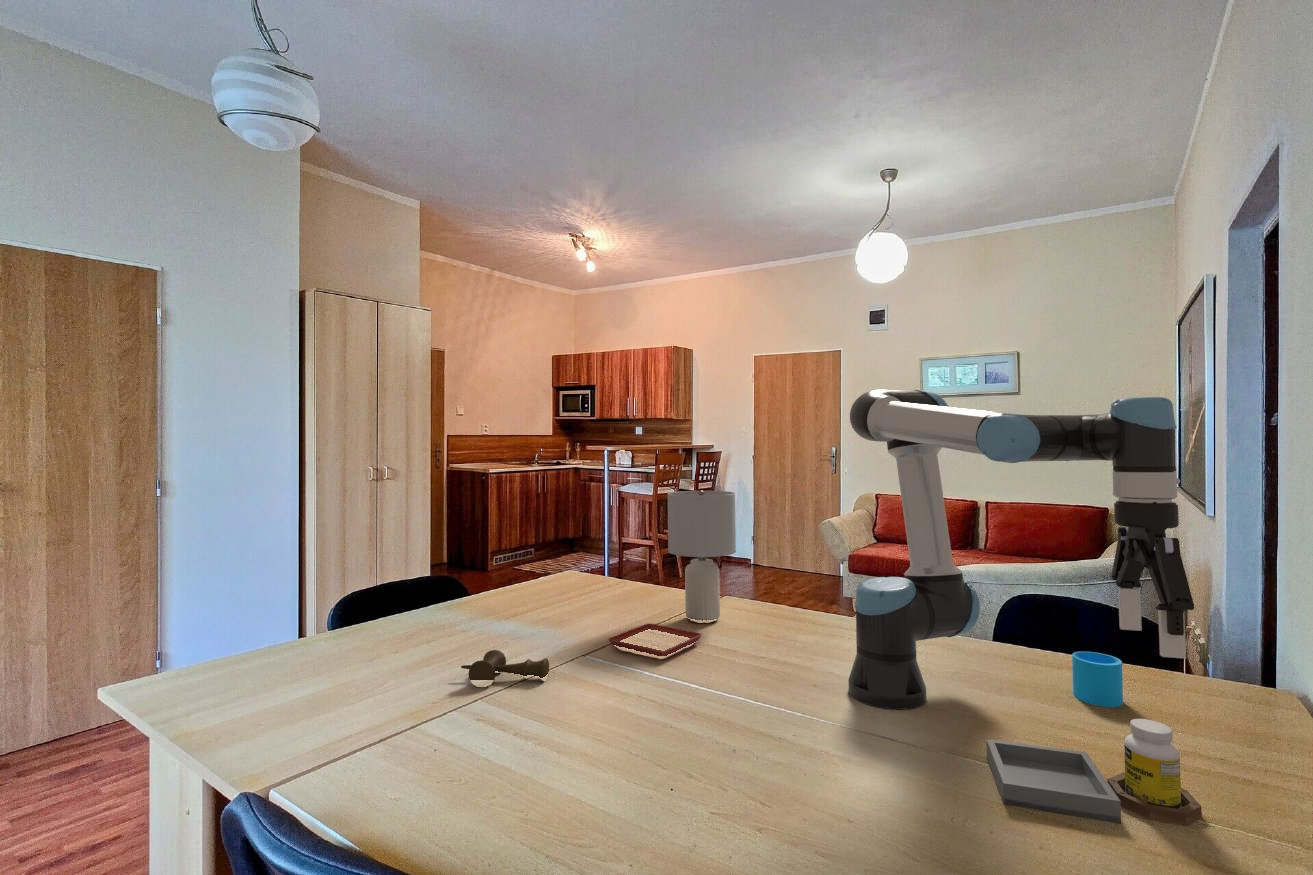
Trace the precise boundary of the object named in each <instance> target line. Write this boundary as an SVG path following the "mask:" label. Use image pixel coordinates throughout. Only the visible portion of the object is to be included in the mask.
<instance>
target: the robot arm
mask: <svg viewBox="0 0 1313 875" xmlns="http://www.w3.org/2000/svg"><path fill="white" fill-rule="evenodd" d="M849 422H850V425H851V428H852V429H853V430H854V432H855V433H856V434H857V435H858V436H859V437H861V438H863V439H865V440H867V441H871V442H883V443H884V442H886V448H887V453H889V454H890V455H891V456H892V457H894V458H895V460H896V468H897V476H898V481H899V482H898V483H899V489H900V490H899V491H900V498H901V504H902V510H903V511H902V512H903V519H904V520H903V521H904V526H905V527H904V528H905V536H906V543H907V550H908V558H909V567H908V569H907V570H906V571H904V574H903V575H904V577H900V576H887V577H885V576H880V577H873V578H870V579H866V580H864V581H862V582H861V583H859V584H858V586H857V587H856V592H855V601H854V609H855V631H856V632H855V635H856V636H855V637H856V655H855V657H854V661H853V664H852V667H851V671H850V672H849V677H848V693H849V694H850V695H851V696H852V697H853V698H854V699H856V700H857V701H859V702H862V703H864V704H867V705H870V706H874V707H877V708H883V709H891V710H908V709H909V710H911V709H915V708H919V707H921V706H923V705H924V704H926V703H927V698H928V697H927V687H926V684H925V681H924V678H923V675H922V672H921V669H920V666H919V663H918V661H917V660H918V659H917V641H923V640H924V641H925V640H931V639H937V638H953V637H955V636H958V635H963V634H965V633H967V632H969V631H971V630H972V629H973V627H974V626H975V625H976V624H977V622H978V621H979V618H980V613H981V603H980V599H979V596H978V593H977V591H976V590H975V589H973V585H972V584H971V583H969V581H967V580H964V575H963V571H962V569H960V568H959V567H957V566H956V565H955V563H954V561H953V554H952V547H951V540H950V533H949V526H948V520H947V512H946V505H945V500H944V499H945V498H944V493H943V485H942V478H941V471H940V465H939V458H938V454H939V452H940V451H941V450H942V449H943V448H944V449H950V450H955V451H962V452H967V453H971V454H976V455H977V454H978V455H983V456H985V457H986V458H987V459H988V460H991V461H993V462H1000V463H1006V464H1007V463H1009V464H1017V463H1023V462H1064V461H1065V462H1071V461H1075V462H1076V461H1105V462H1106V461H1112V492H1113V493H1112V494H1113V495H1112V496H1113V497H1114V498H1118V499H1117V500H1116V501H1115V502H1114V503H1113V506H1114V507H1113V509H1114V511H1113V512H1114V514H1113V515H1114V523H1115V524H1116V525H1118V526H1119V527H1118V528H1117V543H1116V549H1115V554H1114V559H1113V564H1112V571H1111V577H1110V578H1111V579H1112V581H1115V584H1116V587H1118V588H1117V590H1118V593H1117V595H1118V597H1117V598H1118V617H1119V618H1118V620H1119V621H1118V622H1119V630H1121V631H1122V630H1124V631H1138V632H1139V631H1142V630H1143V629H1142V610H1141V609H1142V605H1141V604H1142V602H1141V601H1142V600H1141V589H1142V588H1143V586H1142V583H1141V582H1140V579H1141V577H1142V575H1143V572H1144V569H1147V570H1148V572H1149V575H1150V578H1151V581H1152V583H1153V586H1154V589H1155V591H1156V595H1157V597H1158V600H1159V602H1160V603H1158V604H1157V606H1156V607H1155V609H1156V610H1157V612H1158V615H1157V616H1158V638H1159V641H1158V642H1159V656H1161V657H1163V658H1173V659H1175V658H1176V659H1187V648H1186V641H1187V640H1186V622H1185V621H1186V619H1185V618H1186V616H1185V612H1187V611H1194V610H1195V604H1194V599H1193V596H1192V595H1193V594H1192V593H1191V588H1190V586H1189V582H1188V578H1187V574H1186V571H1185V566H1184V562H1183V559H1182V555H1181V545H1180V540H1179V538H1178V537H1167V534H1166V530H1167V529H1174V528H1177V527H1178V526H1179V525H1180V521H1179V520H1180V519H1179V518H1180V517H1179V504H1177V503H1176V502H1174V501H1173V500H1174V499H1177V497H1178V485H1179V484H1180V483H1181V480H1180V478H1179V477H1177V462H1176V455H1177V454H1176V429H1177V424H1176V421H1175V412H1174V404H1173V402H1172V400H1170V399H1168V398H1166V397H1162V396H1161V397H1160V396H1151V397H1150V396H1146V397H1143V396H1142V397H1129V398H1120V399H1115V400H1113V401H1112V402H1111V403H1110V410H1109V412H1107V413H1101V414H1097V413H1096V414H1077V415H1070V414H1069V415H1065V414H1064V415H1061V414H1060V415H1059V414H1046V415H1045V414H1043V415H1038V414H1036V415H1035V414H1017V413H1009V412H998V411H997V412H996V411H987V410H980V409H971V408H970V409H968V408H962V407H960V408H959V407H949V405H948V404H947V402H946V400H945V399H944V398H943V397H941V396H940V395H939V394H937V393H935V392H932V391H927V390H926V391H925V390H921V389H911V390H909V389H908V390H907V389H905V390H904V389H901V390H900V389H893V390H892V389H872V390H869V391H866V392H864V393H862V394H861V395H860V396H858V397H857V398H856V399H855V401H853V403H852V405H851V408H850V412H849ZM1139 588H1141V589H1139Z"/></svg>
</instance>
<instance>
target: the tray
mask: <svg viewBox="0 0 1313 875" xmlns="http://www.w3.org/2000/svg"><path fill="white" fill-rule="evenodd" d="M985 742H986V743H985V744H986V759H987V762H988V765H989V768H990V770H991V772H992V776H993V779H994V781H995V783H996V787H997V790H998V793H999V794H1000V798H1001V799H1002V800H1001V801H1002V803H1003V805H1005V806H1012V807H1019V808H1024V809H1029V810H1030V809H1031V810H1036V811H1042V812H1049V813H1055V814H1061V815H1066V816H1073V817H1080V818H1086V819H1091V820H1098V821H1101V822H1102V821H1104V822H1109V823H1115V824H1121V825H1122V806H1121V801H1120V800H1119V798H1118V797H1117V795H1116V794H1115V792H1114V791H1113V790H1112V788H1111V787H1110V785H1109V784H1108V782H1107V779H1106V778H1105V776H1104V775H1103V774H1102V772H1101V771H1100V770H1099V768H1098V767H1097V765H1096V764H1095V763H1094V760H1093V759H1092V758H1091V757H1090V755H1089V753H1088V752H1086V751H1079V750H1073V749H1066V748H1065V749H1064V748H1057V747H1050V746H1044V745H1043V746H1041V745H1035V744H1034V745H1033V744H1027V743H1019V742H1011V741H1004V740H998V739H997V740H996V739H990V738H986V740H985Z"/></svg>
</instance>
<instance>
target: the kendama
mask: <svg viewBox="0 0 1313 875" xmlns="http://www.w3.org/2000/svg"><path fill="white" fill-rule="evenodd" d="M506 658H507V657H506V656H505V654H504V653H503V652H502V651H501V650H499V649H498V650H497V649H493V650H488V651H486V652H485V654H484V655H483V659H481V660H477V661H474V662H473V663H472V664H466V665H465V664H464V665H461V666H460V668H461V669H465V670H468V672H467V673H468V674H467V675H468V680H469V679H470V680H494V681H495V678H496V674H495V671H498V672H501V673H506V674H510V673H514V674H513V675H515V674H520V675H523V676H527V675H534V676H539V677H540V678H543V677H545V676H546V675H547V674H548V672H549V673H550V662H549V659H548V658H546V657H545V658H543V659H542V660H539V661H537V660H536V661H532V660H531V659H530V658H528V659H526V660H525V661H524V662H518V663H509V664H507V659H506ZM548 675H549V674H548ZM470 680H469V681H470Z"/></svg>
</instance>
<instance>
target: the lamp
mask: <svg viewBox="0 0 1313 875" xmlns="http://www.w3.org/2000/svg"><path fill="white" fill-rule="evenodd" d="M736 529H737V528H736V493H735V492H734V491H728V490H726V491H725V490H703V489H702V490H685V491H684V490H683V491H681V490H680V491H672V492H668V493H667V547H668V548H667V550H668V551H667V552H668V554H671V555H675V556H679V557H690V558H692V559H691V560H690V563H689V564H687V565H686V566H685V568H684V571H685V572H684V582H685V583H684V588H685V589H684V594H685V596H684V598H685V604H684V605H685V617H686V618H687V617H688V618H690V619H695V620H702V621H703V620H706V621H707V620H714V619H718V620H719V618H720V616H721V592H720V591H721V588H720V587H721V584H720V582H721V581H720V579H721V577H720V576H721V574H720V568H719V566H718V565H717V564H716V563H714V559H712V558H713V557H714V558H715V557H716V558H717V557H724V556H730V555H733V554H735V553H736V552H737V548H736V547H737V542H736V538H737V536H736V535H737V534H736V533H737V532H736Z"/></svg>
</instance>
